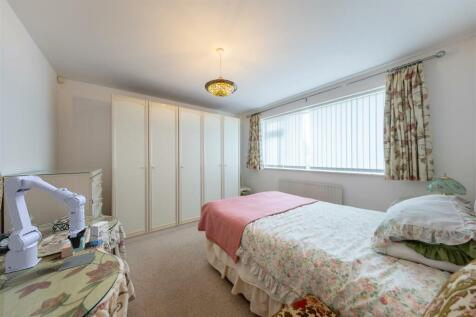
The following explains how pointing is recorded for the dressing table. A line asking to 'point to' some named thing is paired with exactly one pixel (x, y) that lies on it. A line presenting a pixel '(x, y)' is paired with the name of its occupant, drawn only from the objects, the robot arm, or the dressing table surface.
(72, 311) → the dressing table surface
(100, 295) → the dressing table surface
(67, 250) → the peach block
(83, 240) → the teal brick
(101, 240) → the ink box
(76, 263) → the mat
